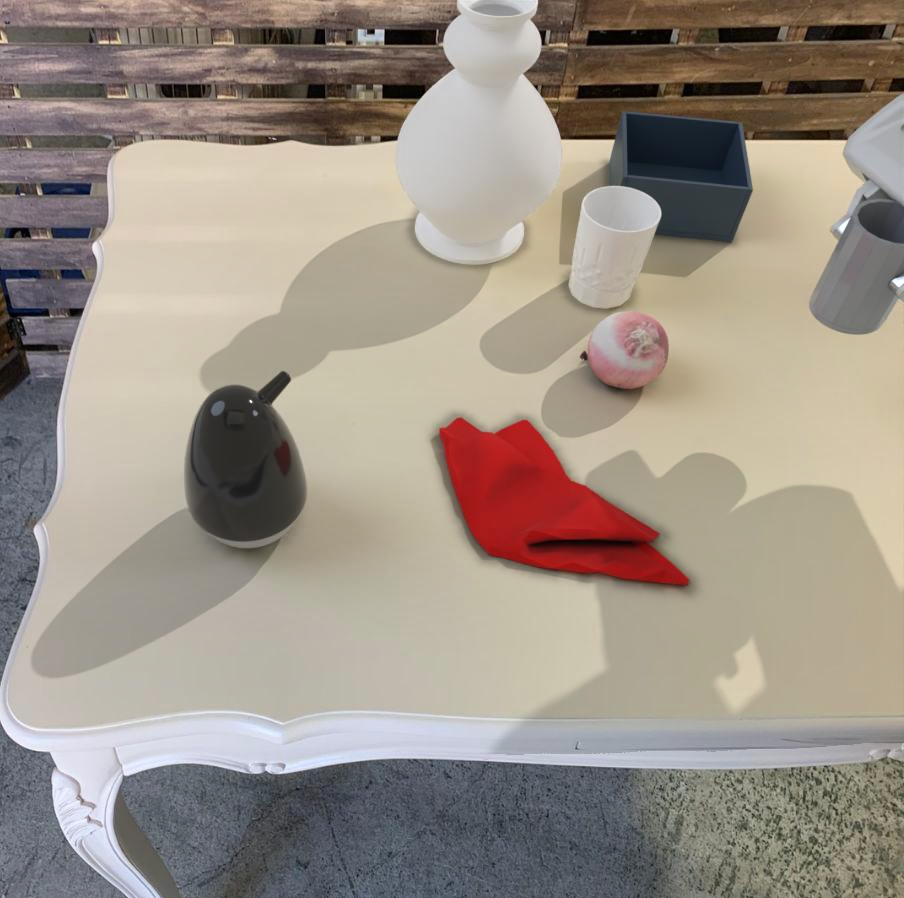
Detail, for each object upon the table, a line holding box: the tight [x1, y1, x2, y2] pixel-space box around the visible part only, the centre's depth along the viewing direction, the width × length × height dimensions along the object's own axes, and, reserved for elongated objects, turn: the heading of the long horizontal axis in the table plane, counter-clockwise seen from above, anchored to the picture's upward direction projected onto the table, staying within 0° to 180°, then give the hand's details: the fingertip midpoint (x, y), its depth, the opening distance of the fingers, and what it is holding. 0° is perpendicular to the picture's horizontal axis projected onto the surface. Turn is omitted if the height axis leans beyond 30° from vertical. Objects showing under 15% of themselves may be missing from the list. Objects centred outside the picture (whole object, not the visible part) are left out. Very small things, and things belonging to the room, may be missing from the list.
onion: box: [579, 310, 670, 391], centre depth 87 cm, size 8×8×7 cm
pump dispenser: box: [183, 370, 308, 549], centre depth 73 cm, size 10×10×15 cm
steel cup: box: [808, 199, 904, 336], centre depth 76 cm, size 6×6×9 cm
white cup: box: [567, 185, 661, 310], centre depth 94 cm, size 8×8×10 cm
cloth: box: [438, 417, 690, 586], centre depth 79 cm, size 26×14×2 cm, turn 36°
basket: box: [608, 110, 754, 244], centre depth 105 cm, size 14×14×7 cm
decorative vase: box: [394, 0, 563, 265], centre depth 94 cm, size 18×18×25 cm
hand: (864, 265), depth 75 cm, fingers closed on steel cup, 6 cm apart
